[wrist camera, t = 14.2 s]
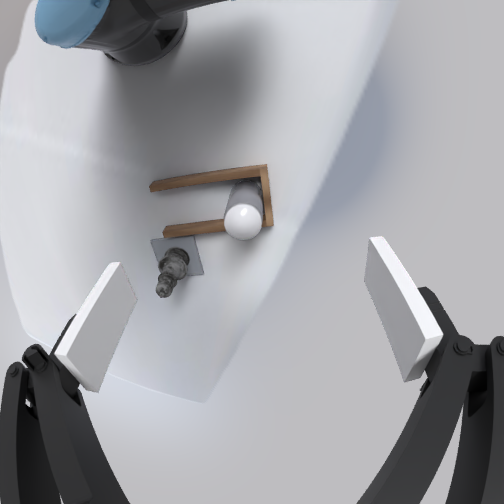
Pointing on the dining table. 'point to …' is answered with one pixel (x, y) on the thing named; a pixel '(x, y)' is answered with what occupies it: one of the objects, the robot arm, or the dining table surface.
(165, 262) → the grey chess piece
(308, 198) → the dining table surface
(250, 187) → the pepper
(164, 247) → the coaster
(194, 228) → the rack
